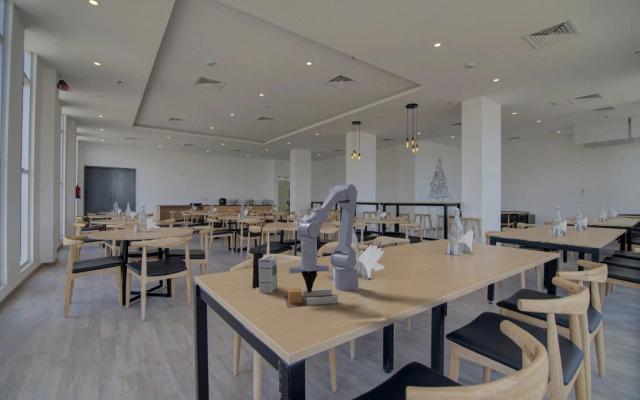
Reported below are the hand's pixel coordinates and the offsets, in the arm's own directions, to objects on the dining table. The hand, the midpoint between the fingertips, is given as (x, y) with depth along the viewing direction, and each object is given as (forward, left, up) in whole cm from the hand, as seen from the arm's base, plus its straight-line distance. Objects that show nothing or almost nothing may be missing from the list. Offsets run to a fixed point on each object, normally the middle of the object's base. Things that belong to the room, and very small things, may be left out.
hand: (309, 291), depth 109 cm
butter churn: (+20, -24, -4) cm, 31 cm away
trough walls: (-4, 0, -3) cm, 5 cm away
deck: (0, 0, -4) cm, 4 cm away
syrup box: (+15, -15, -4) cm, 21 cm away
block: (+5, 0, -3) cm, 6 cm away
